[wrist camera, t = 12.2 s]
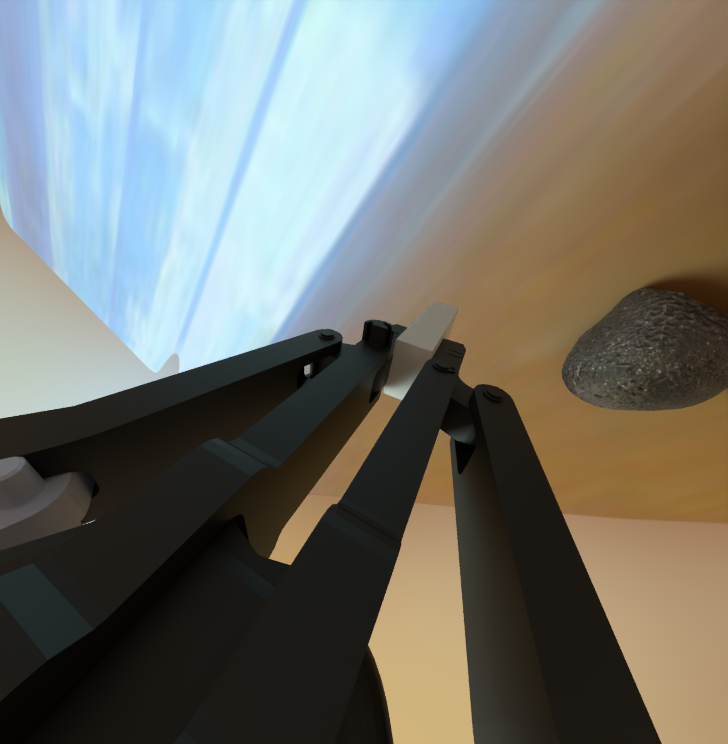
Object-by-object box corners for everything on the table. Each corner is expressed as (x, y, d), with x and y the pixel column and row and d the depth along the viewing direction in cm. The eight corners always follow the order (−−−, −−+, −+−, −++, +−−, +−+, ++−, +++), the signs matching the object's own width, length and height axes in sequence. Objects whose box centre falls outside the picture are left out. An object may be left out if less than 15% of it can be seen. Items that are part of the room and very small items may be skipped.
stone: (707, 289, 21) (666, 244, 16) (808, 384, 17) (792, 360, 12) (575, 354, 28) (520, 336, 23) (622, 432, 24) (568, 428, 19)
